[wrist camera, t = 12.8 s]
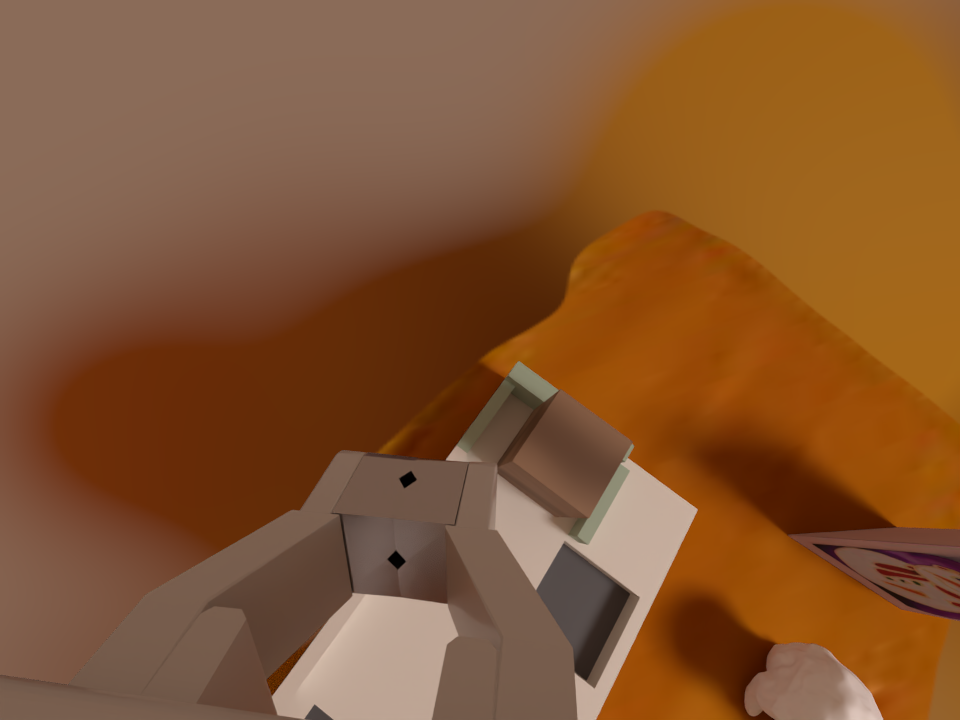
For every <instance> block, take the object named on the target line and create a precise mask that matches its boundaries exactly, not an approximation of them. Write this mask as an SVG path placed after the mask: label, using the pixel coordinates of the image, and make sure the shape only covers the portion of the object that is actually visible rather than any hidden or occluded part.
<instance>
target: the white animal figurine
mask: <svg viewBox="0 0 960 720" xmlns="http://www.w3.org/2000/svg"><path fill="white" fill-rule="evenodd" d="M766 669H767V671H765V672H760V673H758V674H757V675H756V676H755V677H754V678H753V679H752V681H751V682H750V683H749V684H748V686H747V687H746V690H745V699H744V703H745V708H746V711H747V713H748V714H749V715H751V716H757V715H759V714H760V713H761V712H762V711H764V712H765V713H766V714H768V715H769V716H770V717H772V718H773V719H775V720H883V718H882V716H881V713H880V711H879V709H878V707H877V705H876V703H875V701H874V698H873V696H872V694H871V692H870V691H869V690H868V689H867V688H866V687H865V685H864V684H863V683H862V682H861V681H860V680H859V678H858V677H857V676H856V675H855V674H854V673H852V672H851V671H850V670H849V669H848V668H846V667H845V666H844V665H842V664H841V663H840V662H839V661H838V660H837V659H836V658H835V657H834V656H833V654H832V653H831V652H830V651H828V650H827V649H825V648H823V647H821V646H819V645H816V644H813V643H811V644H805V643H789V644H779V645H778V644H776V645H774V646H773V647H772V649H771V650H770V651H769V653H768V656H767V663H766Z"/></svg>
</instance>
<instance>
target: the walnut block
mask: <svg viewBox="0 0 960 720" xmlns="http://www.w3.org/2000/svg"><path fill="white" fill-rule="evenodd" d="M632 443H633V442H632V441H631V440H629V439H628V438H627V437H625V436H624V435H623V434H621V433H620V432H618V431H617V430H616V429H614V428H613V427H612V426H610V425H609V424H608V423H606V422H605V421H603V420H602V419H601V418H599V417H598V416H597V415H595V414H594V413H592V412H591V411H590V410H588V409H587V408H586V407H584V406H583V405H582V404H580V403H579V402H577V401H576V400H575V399H573V398H572V397H571V396H569V395H568V394H566V393H565V392H564V391H562V390H561V389H560V390H559V391H558V392H556V393H555V394H554V395H552V396H551V397H550V398H549V399H547V400H546V401H545V402H543V403H542V404H541V405H539V406H538V407H537V408H536V409H534V410H533V412H532V413H531V415H530V416H529V418H528V419H527V420H526V422H525V423H524V425H523V426H522V428H521V429H520V431H519V432H518V434H517V435H516V437H515V438H514V439H513V441H512V442H511V444H510V445H509V447H508V448H507V450H506V451H505V453H504V454H503V456H502V457H501V458H500V460H499V461H498V463H497V467H498V474H499V475H500V476H502V477H503V478H504V479H505V480H507V481H508V482H509V483H511V484H512V485H513V486H515V487H516V488H517V489H519V490H520V491H521V492H523V493H524V494H525V495H527V496H528V497H529V498H531V499H532V500H533V501H535V502H536V503H537V504H539V505H540V506H541V507H543V508H544V509H545V510H547V511H548V512H549V513H551V514H552V515H553V516H555V517H569V518H590V516H591V514H592V512H593V511H594V509H595V507H596V505H597V504H598V502H599V500H600V498H601V497H602V495H603V493H604V491H605V490H606V488H607V486H608V484H609V483H610V481H611V479H612V477H613V476H614V474H615V472H616V470H617V469H618V467H619V465H620V464H621V462H622V460H623V458H624V457H625V455H626V453H627V451H628V450H629V448H630V446H631V444H632Z"/></svg>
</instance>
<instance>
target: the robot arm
mask: <svg viewBox="0 0 960 720" xmlns="http://www.w3.org/2000/svg"><path fill="white" fill-rule="evenodd" d="M497 475H498V467H497V464H496V463H489V462H472V461H471V462H462V461H449V460H436V459H424V458H415V457H406V456H397V455H387V454H378V453H365V452H355V451H346V450H342V451H341V452H339V453H337V454H336V456H335V457H334V459H333V460H332V462H331V463H330V465H329V467H328V468H327V470H326V471H325V473H324V474H323V476H322V477H321V479H320V480H319V482H318V484H317V485H316V487H315V488H314V490H313V491H312V493H311V494H310V496H309V498H308V499H307V500H306V502H305V504H304V505H303V507H302V508H301V510H300V511H297V510H291V511H289V512H288V513H286V514H284V515H282V516H281V517H279V518H277V519H276V520H274V521H272V522H270V523H269V524H267V525H265V526H264V527H262V528H260V529H258V530H257V531H255V532H253V533H251V534H250V535H248V536H246V537H244V538H243V539H241V540H239V541H238V542H236V543H234V544H232V545H231V546H229V547H227V548H225V549H224V550H222V551H220V552H219V553H217V554H215V555H213V556H212V557H210V558H208V559H206V560H205V561H203V562H201V563H199V564H198V565H196V566H194V567H193V568H191V569H189V570H187V571H186V572H184V573H182V574H180V575H179V576H177V577H176V578H174V579H172V580H170V581H168V582H167V583H165V584H163V585H161V586H160V587H158V588H156V589H155V590H153V591H151V592H149V593H148V594H146V595H145V596H144V597H143V598H142V600H141V601H140V602H139V603H138V604H137V605H136V606H135V608H134V609H133V610H132V611H131V612H130V613H129V615H128V616H127V617H126V618H125V619H124V620H123V622H122V623H121V624H120V625H119V626H118V627H117V628H116V630H115V631H114V632H113V633H112V634H111V636H109V638H108V639H107V640H106V641H105V642H104V643H103V645H102V646H101V647H100V648H99V649H98V650H97V652H96V653H95V654H94V655H93V656H92V657H91V659H90V660H89V661H88V662H87V663H86V664H85V665H84V667H83V668H82V669H81V670H80V671H79V672H78V674H77V675H76V676H75V677H74V678H73V679H72V680H71V682H70V683H69V684H68V685H67V684H60V683H53V682H46V681H39V680H32V679H25V678H18V677H11V676H5V675H0V720H307V719H300V718H293V717H286V716H279V715H277V711H276V708H275V705H274V702H273V699H272V696H271V693H270V690H269V687H268V684H267V679H268V678H269V677H270V676H271V675H272V674H273V673H274V672H275V671H276V670H277V669H278V668H279V667H280V666H281V665H282V664H283V663H284V662H285V661H286V660H287V659H288V658H289V657H290V656H291V655H292V654H293V653H294V652H295V651H297V650H298V649H299V648H300V647H301V646H302V645H303V644H304V643H305V642H306V641H307V640H308V639H309V638H310V637H311V636H312V635H313V634H314V633H315V632H316V631H317V630H318V629H319V628H320V627H321V626H322V625H323V624H324V623H325V622H326V621H327V620H329V619H330V618H331V617H332V616H333V615H334V614H335V613H336V612H337V611H338V610H339V609H340V608H341V607H342V606H343V605H344V604H345V603H346V602H347V601H348V600H349V599H350V598H351V597H352V596H353V595H352V593H357V594H369V595H380V596H392V597H402V598H409V599H416V600H423V601H430V602H436V603H443V604H448V609H449V611H450V614H451V617H452V619H453V622H454V625H455V628H456V630H457V633H458V636H457V637H456V638H454V639H453V640H452V641H451V642H449V643H448V644H447V646H446V651H445V656H444V661H443V666H442V671H441V676H440V681H439V686H438V691H437V696H436V701H435V706H434V711H433V716H432V720H578V717H577V702H576V687H575V671H574V656H573V647H572V646H571V644H570V643H569V641H568V640H567V638H566V636H565V635H564V633H563V632H562V630H561V629H560V627H559V626H558V624H557V622H556V621H555V619H554V618H553V616H552V615H551V613H550V612H549V610H548V608H547V607H546V605H545V604H544V602H543V601H542V599H541V598H540V596H539V594H538V593H537V591H536V590H535V588H534V587H533V585H532V584H531V582H530V580H529V579H528V577H527V576H526V574H525V573H524V571H523V570H522V568H521V566H520V565H519V563H518V562H517V560H516V559H515V557H514V556H513V554H512V552H511V551H510V549H509V548H508V546H507V545H506V543H505V542H504V540H503V538H502V537H501V535H500V534H499V532H498V531H497V530H495V521H496V500H497Z"/></svg>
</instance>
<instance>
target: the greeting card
mask: <svg viewBox="0 0 960 720" xmlns="http://www.w3.org/2000/svg"><path fill="white" fill-rule="evenodd" d="M788 536H789V537H791V538H792V539H794V540H796V541H797V542H799V543H800V544H802V545H803V546H805V547H806V548H808V549H809V550H811V551H812V552H814V553H816V554H817V555H819V556H820V557H822V558H823V559H825V560H826V561H828V562H829V563H831V564H832V565H834V566H836V567H837V568H839V569H840V570H842V571H843V572H845V573H846V574H848V575H849V576H851V577H852V578H854V579H856V580H857V581H859V582H860V583H862V584H863V585H865V586H866V587H868V588H869V589H871V590H872V591H874V592H876V593H877V594H879V595H880V596H882V597H883V598H885V599H886V600H888V601H889V602H891V603H892V604H894V605H896V606H897V607H899V608H900V609H902V610H907V611H912V612H917V613H922V614H927V615H932V616H937V617H942V618H947V619H952V620H957V621H960V530H957V529H930V528H903V527H893V528H879V529H864V530H849V531H834V532H820V533H805V534H790V535H788Z"/></svg>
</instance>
